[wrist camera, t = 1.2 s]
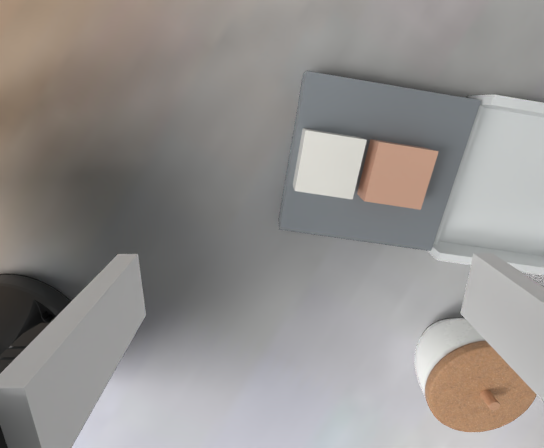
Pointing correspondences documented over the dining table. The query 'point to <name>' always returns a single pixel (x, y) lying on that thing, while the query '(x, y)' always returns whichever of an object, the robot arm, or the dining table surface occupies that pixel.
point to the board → (368, 125)
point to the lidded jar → (468, 379)
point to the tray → (498, 188)
